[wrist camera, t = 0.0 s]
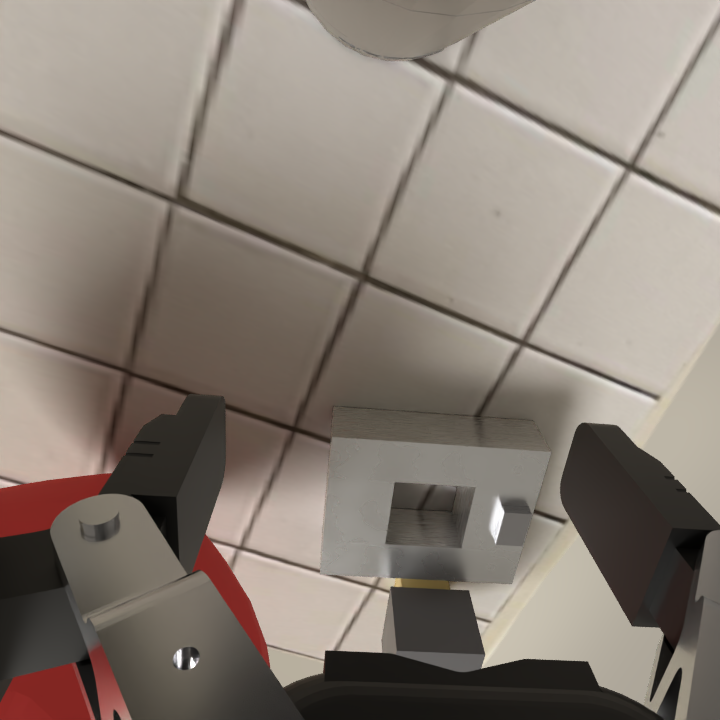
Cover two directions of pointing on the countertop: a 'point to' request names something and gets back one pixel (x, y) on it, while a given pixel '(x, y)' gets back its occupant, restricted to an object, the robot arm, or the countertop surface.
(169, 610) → the robot arm
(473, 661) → the plug
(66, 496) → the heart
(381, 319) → the countertop surface
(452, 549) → the socket plate
